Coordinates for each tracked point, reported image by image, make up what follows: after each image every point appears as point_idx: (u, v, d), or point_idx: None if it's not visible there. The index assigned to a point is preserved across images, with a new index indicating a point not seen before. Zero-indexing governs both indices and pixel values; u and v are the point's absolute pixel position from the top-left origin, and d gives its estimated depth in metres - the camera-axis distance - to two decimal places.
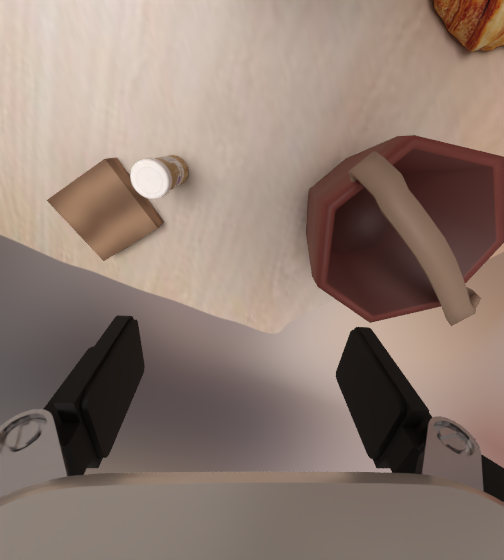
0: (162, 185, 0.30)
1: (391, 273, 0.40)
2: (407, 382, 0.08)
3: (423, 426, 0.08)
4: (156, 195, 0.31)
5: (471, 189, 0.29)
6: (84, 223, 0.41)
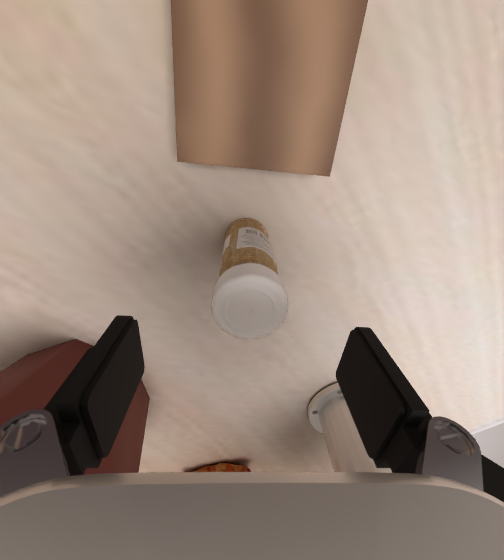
0: (227, 324, 0.15)
1: None
2: (407, 382, 0.08)
3: (423, 426, 0.08)
4: (218, 303, 0.14)
5: None
6: None
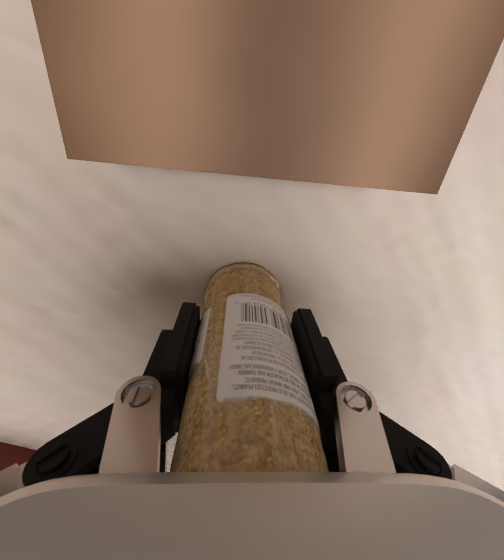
0: None
1: None
2: (327, 353, 0.09)
3: None
4: None
5: None
6: None
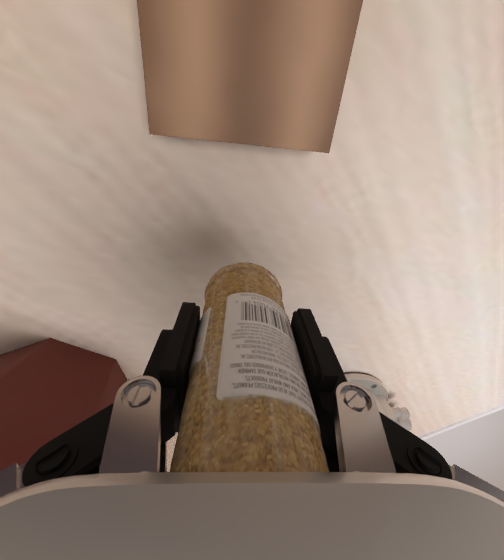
0: None
1: None
2: (327, 353, 0.09)
3: None
4: None
5: None
6: None
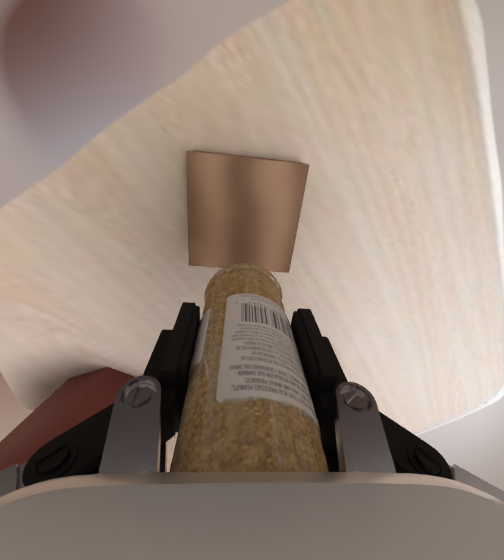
0: None
1: None
2: (327, 353, 0.09)
3: None
4: None
5: None
6: (252, 182, 0.25)
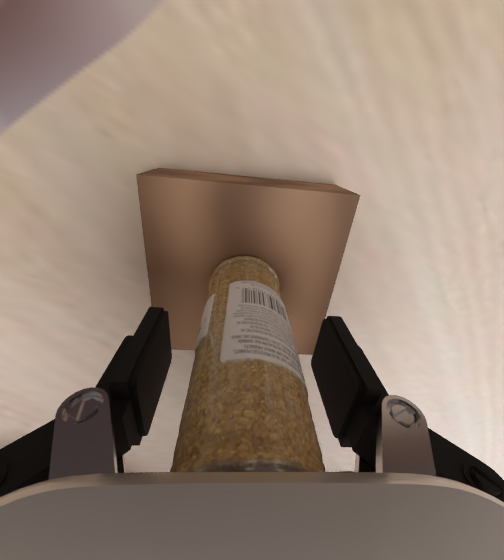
0: None
1: None
2: (367, 364, 0.09)
3: (380, 405, 0.08)
4: None
5: None
6: (258, 226, 0.14)
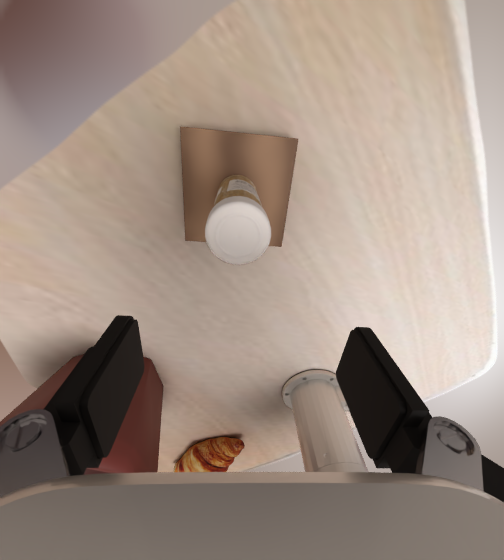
0: (219, 248, 0.17)
1: None
2: (407, 382, 0.08)
3: (423, 426, 0.08)
4: (211, 228, 0.16)
5: None
6: (244, 157, 0.26)
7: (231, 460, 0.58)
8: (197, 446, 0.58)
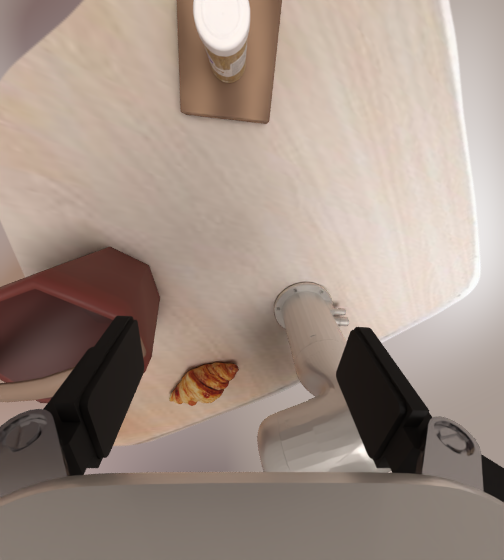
0: (205, 26, 0.20)
1: (30, 316, 0.40)
2: (407, 382, 0.08)
3: (423, 426, 0.08)
4: (198, 1, 0.19)
5: None
6: None
7: (225, 383, 0.60)
8: (193, 370, 0.60)
